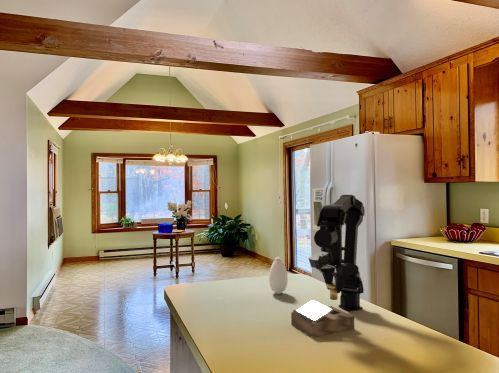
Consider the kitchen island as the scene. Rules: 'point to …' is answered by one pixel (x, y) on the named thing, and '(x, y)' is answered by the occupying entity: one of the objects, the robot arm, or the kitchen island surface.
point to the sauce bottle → (278, 276)
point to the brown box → (323, 322)
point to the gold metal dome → (332, 290)
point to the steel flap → (314, 310)
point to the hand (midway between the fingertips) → (333, 291)
